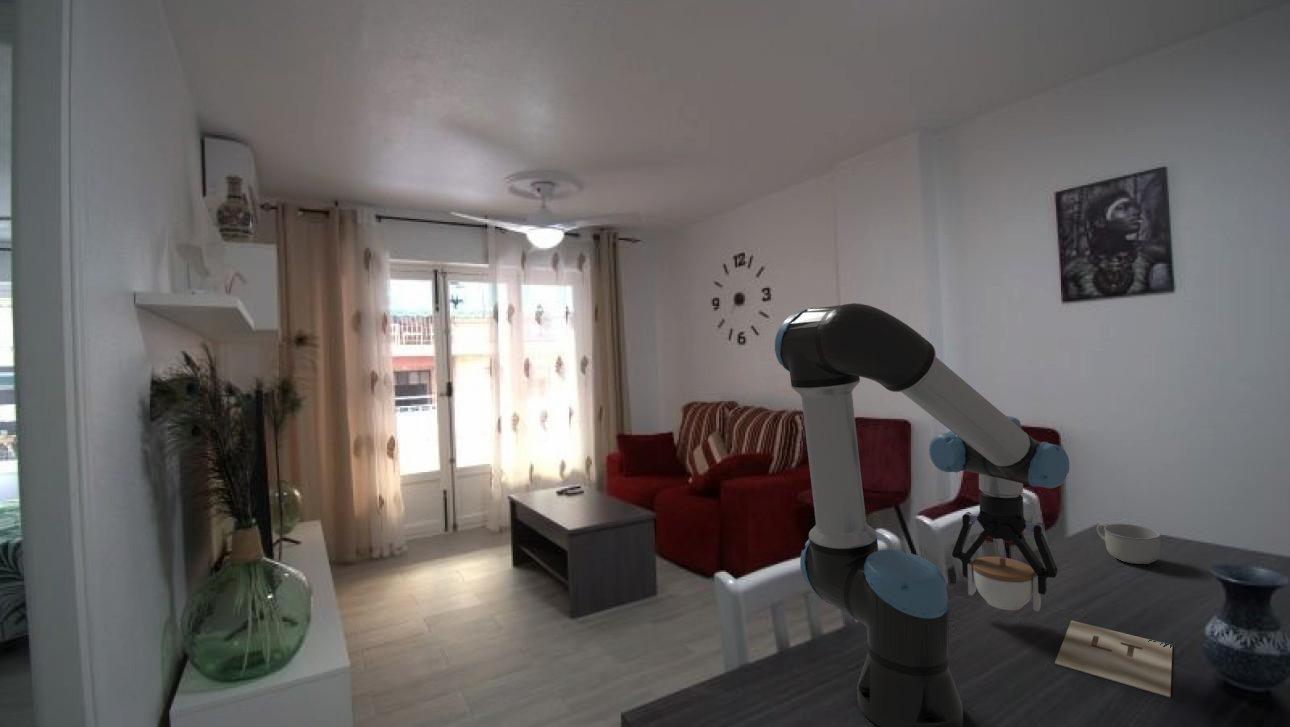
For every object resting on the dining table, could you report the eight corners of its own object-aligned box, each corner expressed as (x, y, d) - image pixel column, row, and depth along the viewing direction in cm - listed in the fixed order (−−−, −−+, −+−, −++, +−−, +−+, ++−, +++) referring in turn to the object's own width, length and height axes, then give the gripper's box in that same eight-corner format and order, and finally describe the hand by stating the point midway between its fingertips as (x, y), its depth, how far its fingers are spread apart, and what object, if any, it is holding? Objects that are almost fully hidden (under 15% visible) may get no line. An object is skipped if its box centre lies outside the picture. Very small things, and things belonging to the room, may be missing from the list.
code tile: (1170, 697, 90) (1170, 696, 90) (1054, 663, 100) (1054, 662, 100) (1172, 646, 104) (1172, 644, 104) (1071, 621, 115) (1071, 620, 115)
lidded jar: (1046, 617, 109) (1045, 569, 108) (985, 614, 111) (983, 567, 111) (1021, 593, 119) (1020, 549, 119) (965, 591, 121) (964, 547, 121)
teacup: (1173, 568, 138) (1172, 535, 138) (1129, 570, 138) (1129, 537, 138) (1123, 548, 152) (1123, 518, 152) (1084, 549, 152) (1083, 520, 152)
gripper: (1074, 497, 109) (1077, 610, 110) (944, 481, 125) (946, 580, 126) (1069, 506, 104) (1071, 625, 104) (933, 488, 120) (936, 591, 120)
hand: (1003, 600), depth 115 cm, fingers closed on lidded jar, 11 cm apart
